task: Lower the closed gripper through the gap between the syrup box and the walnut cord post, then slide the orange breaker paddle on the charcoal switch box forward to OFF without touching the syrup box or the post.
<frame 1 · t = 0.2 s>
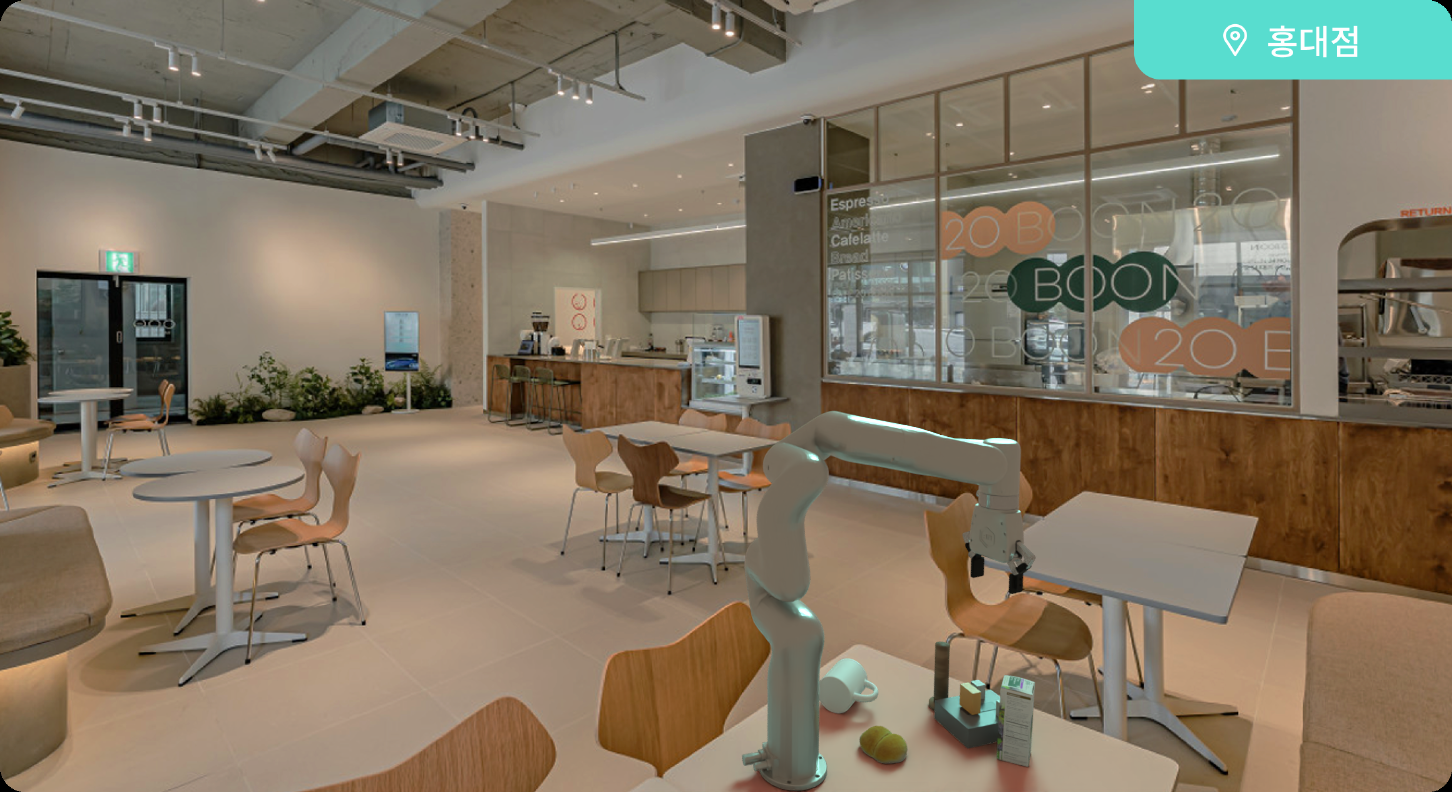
hand: (995, 584, 138), 30 cm above the table, fingers open, 9 cm apart
cord post: (940, 706, 149), on the table
switch box: (979, 726, 141), on the table
bread roll: (883, 752, 134), on the table
syrup box: (1014, 756, 132), on the table
mug: (850, 705, 150), on the table
breaker paddle: (970, 698, 140), point 7 cm above the table, slide at 0.0 cm
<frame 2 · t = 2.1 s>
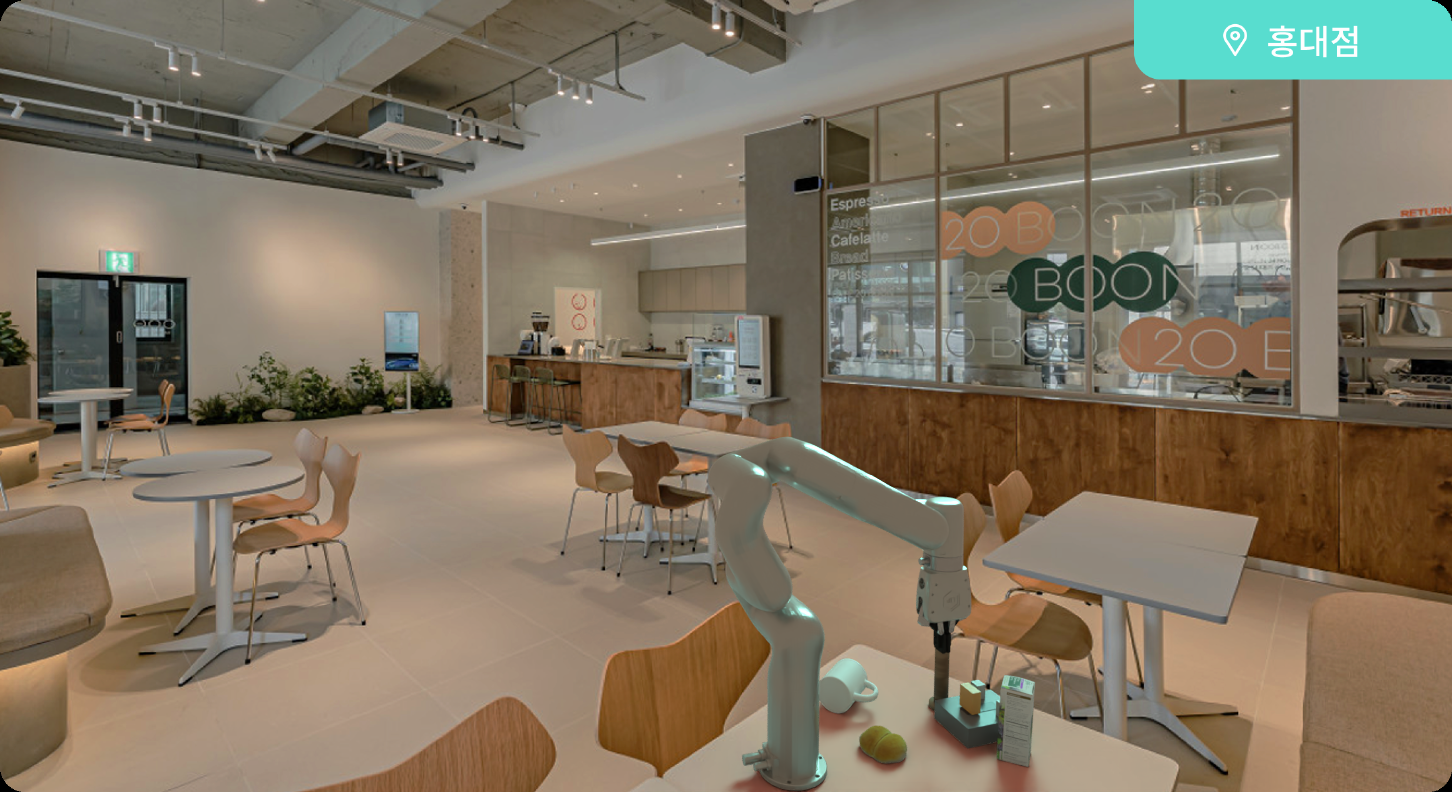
hand: (942, 650, 137), 18 cm above the table, fingers closed
nothing on the table moved.
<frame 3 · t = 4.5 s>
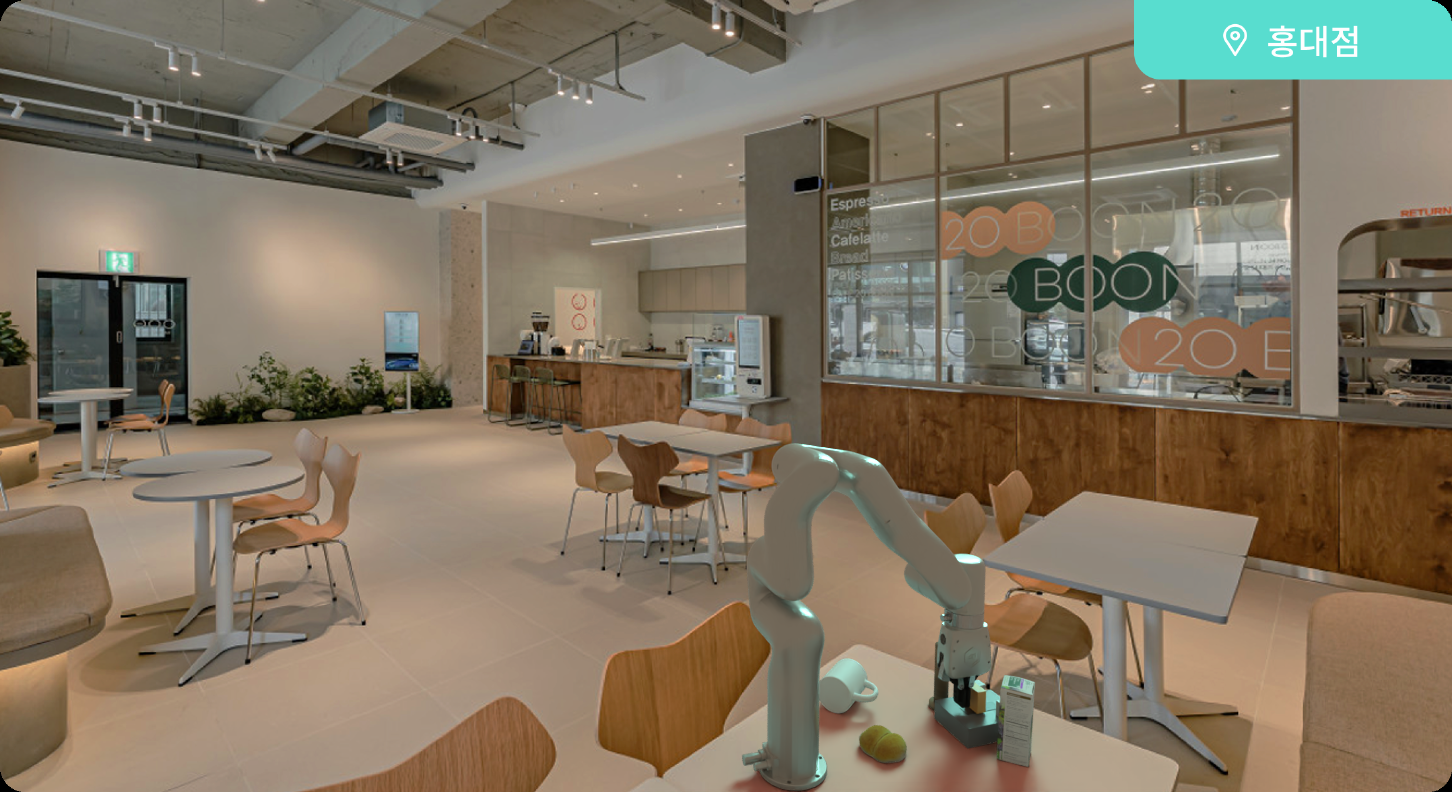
hand: (961, 704, 140), 6 cm above the table, fingers closed
breaker paddle: (975, 697, 141), point 7 cm above the table, slide at 1.3 cm, touching gripper
everything else where it was.
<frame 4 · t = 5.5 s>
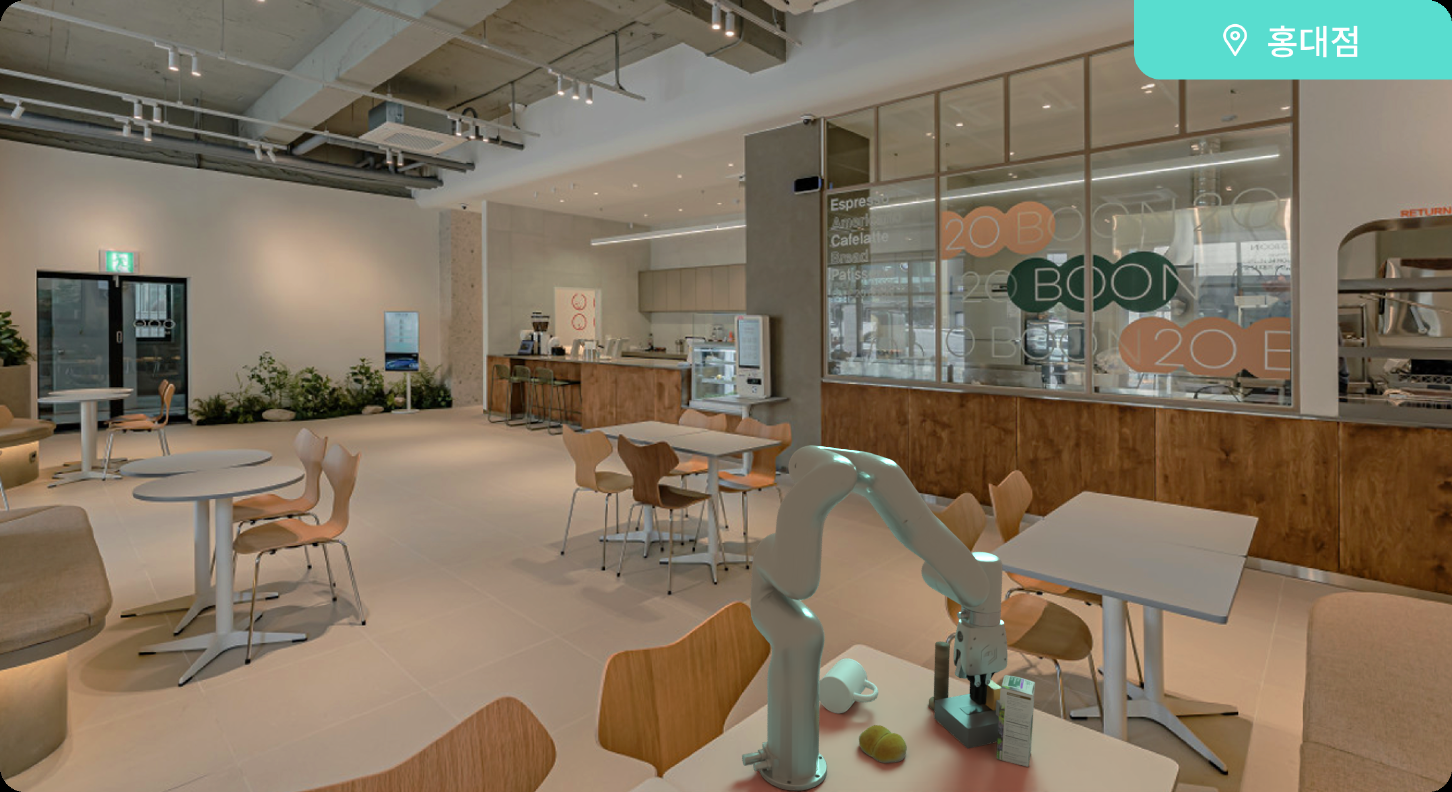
hand: (977, 701, 141), 6 cm above the table, fingers closed
breaker paddle: (991, 694, 142), point 7 cm above the table, slide at 5.2 cm, touching gripper
everything else where it was.
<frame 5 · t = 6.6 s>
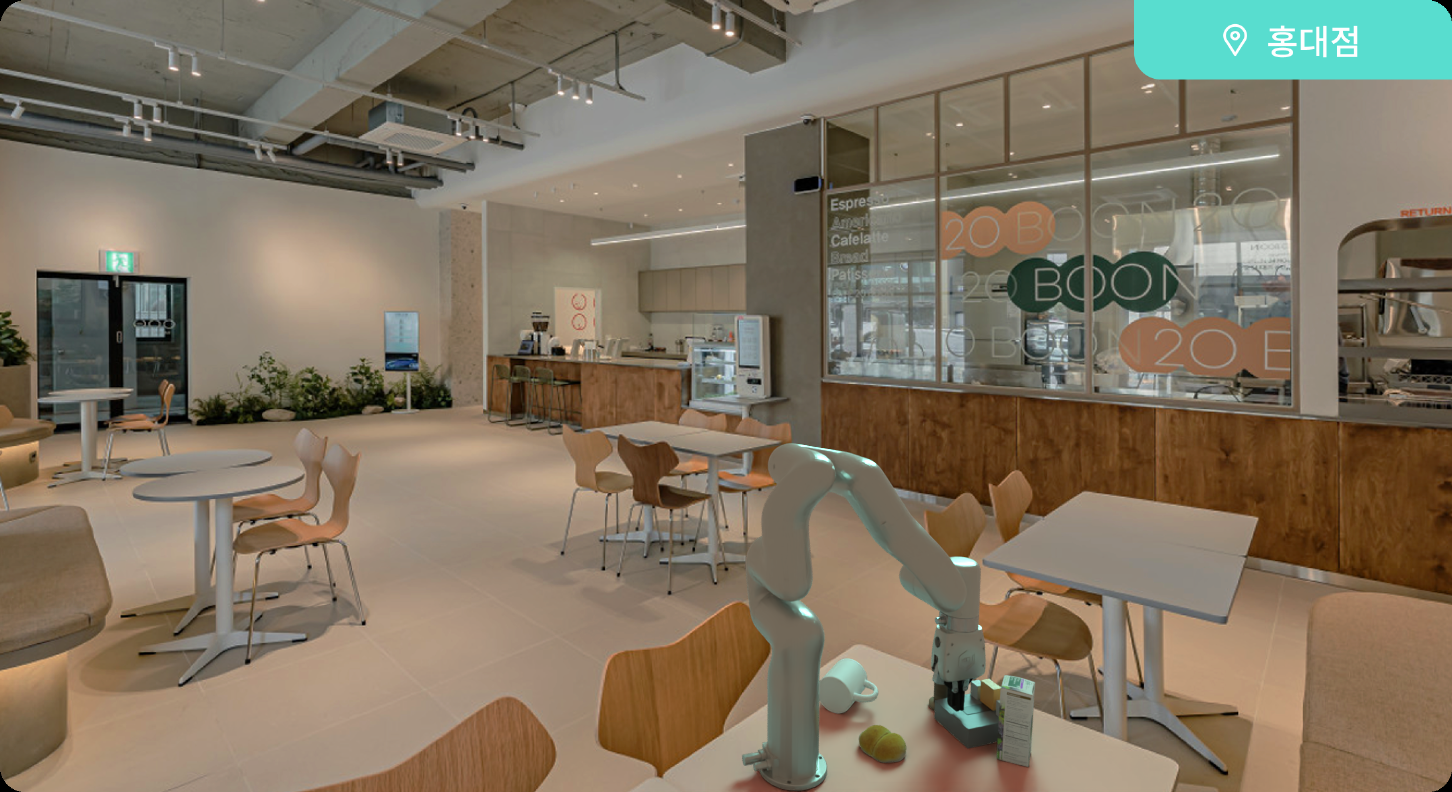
hand: (955, 707, 139), 5 cm above the table, fingers closed
breaker paddle: (990, 694, 142), point 7 cm above the table, slide at 5.1 cm
everything else where it was.
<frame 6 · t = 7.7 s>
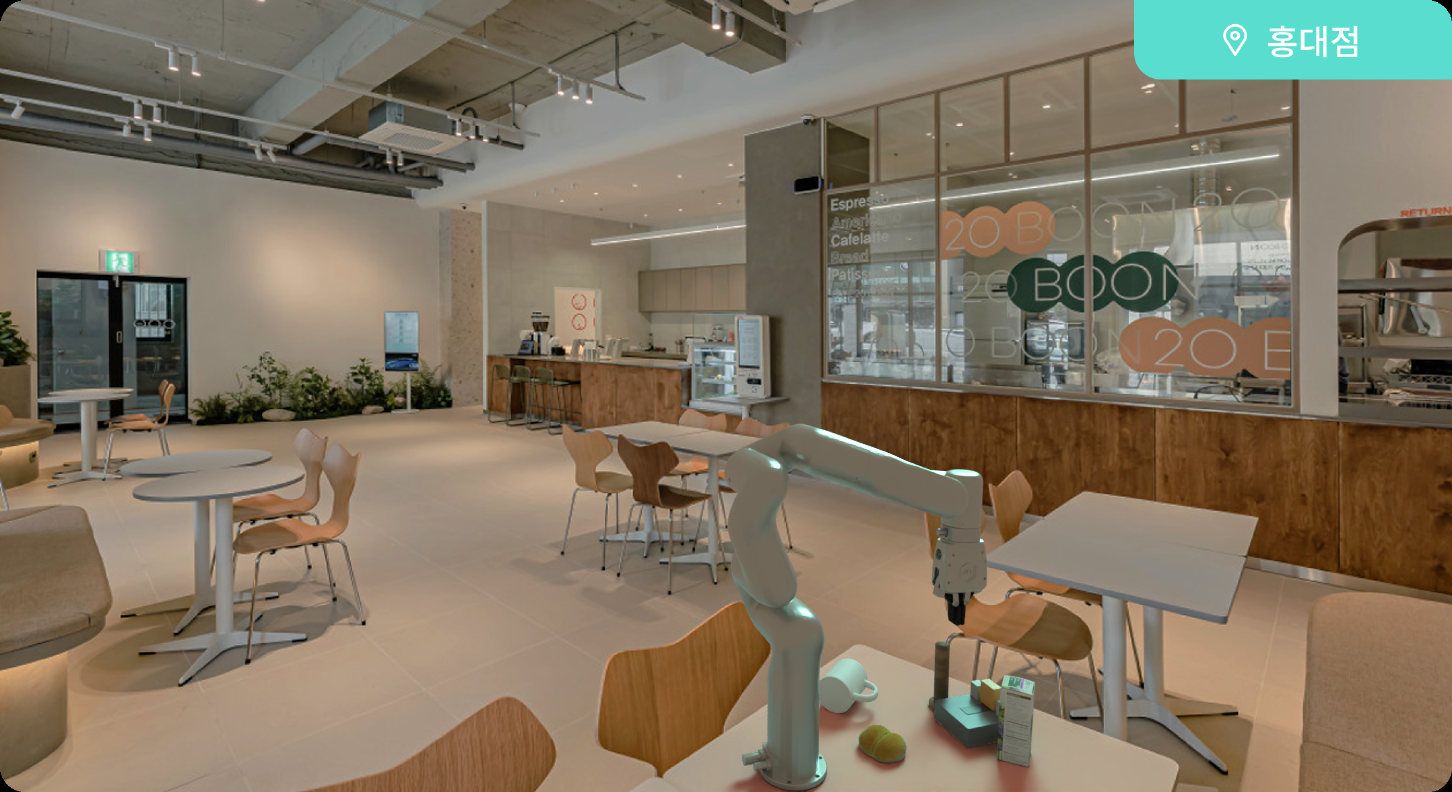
hand: (956, 622, 137), 23 cm above the table, fingers closed
nothing on the table moved.
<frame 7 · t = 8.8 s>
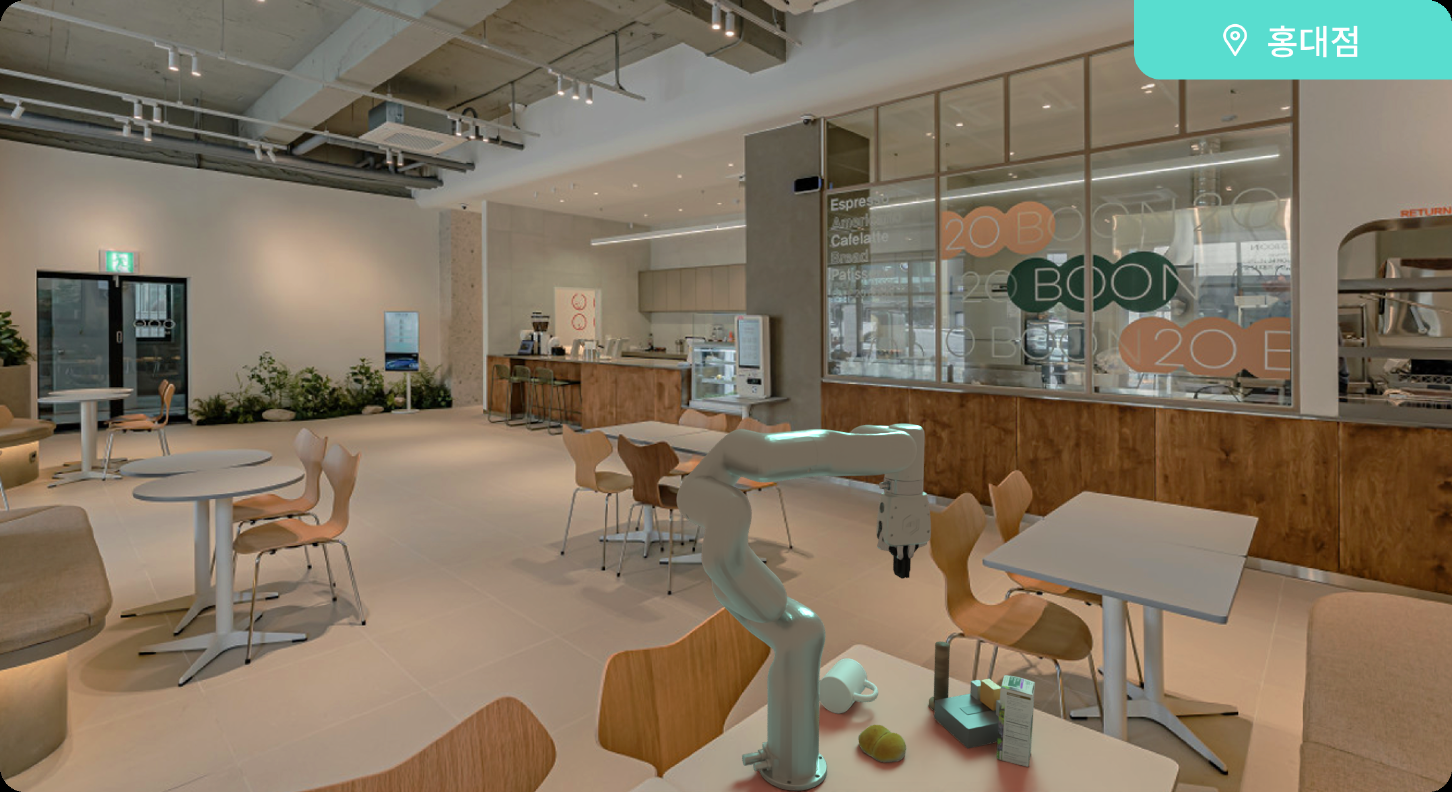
hand: (901, 575, 138), 32 cm above the table, fingers closed
nothing on the table moved.
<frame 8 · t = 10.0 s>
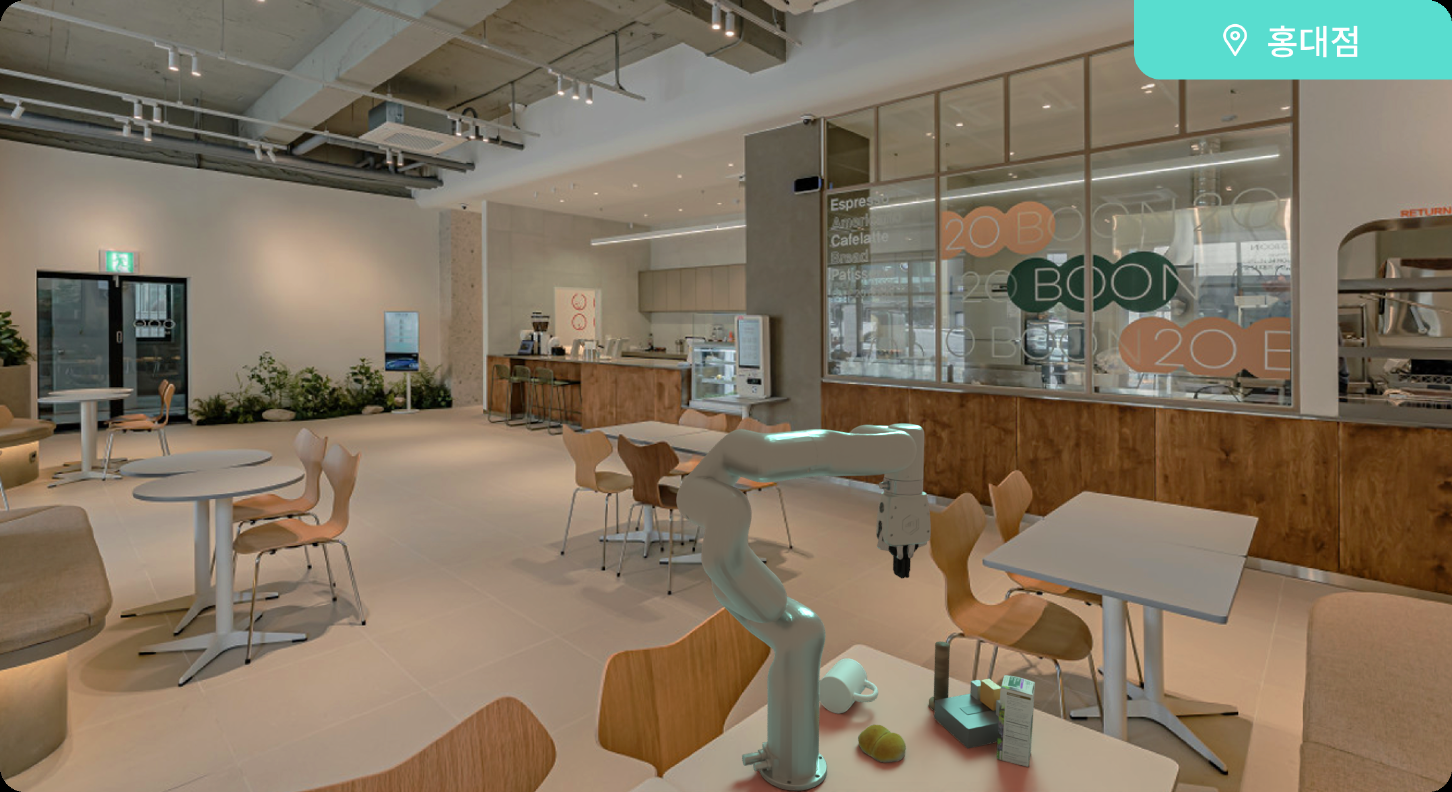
hand: (901, 575, 138), 32 cm above the table, fingers closed
nothing on the table moved.
at the end: breaker paddle slide at 5.1 cm; syrup box moved 0.2 cm from its start; cord post moved 0.0 cm from its start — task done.
